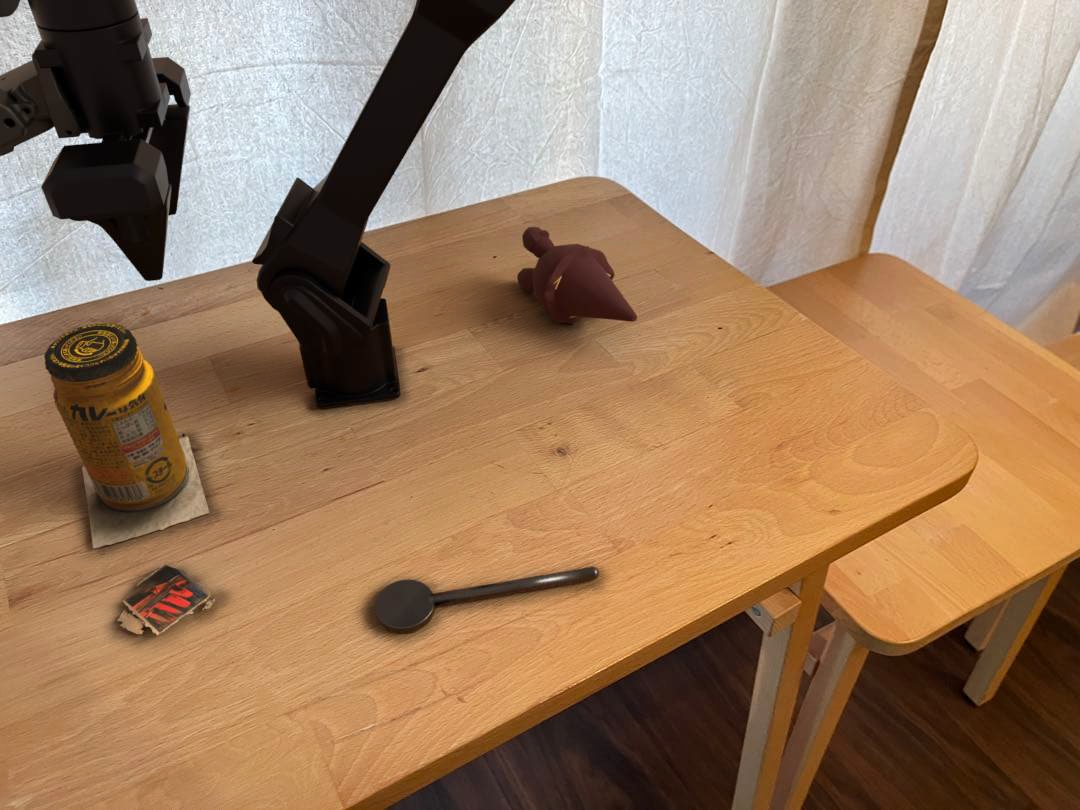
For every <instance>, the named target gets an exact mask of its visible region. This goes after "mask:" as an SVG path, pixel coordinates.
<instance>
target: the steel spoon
mask: <svg viewBox="0 0 1080 810" xmlns="http://www.w3.org/2000/svg"><path fill="white" fill-rule="evenodd" d="M599 576H600V571H599V569H598V568H597V567H595V566H589V567H588V566H587V567H582V568H576V569H571V570H565V571H560V572H558V571H557V572H553V573H552V572H551V573H547V574H541V575H535V576H529V577H522V578H517V579H510V580H505V581H499V582H494V583H493V582H492V583H486V584H482V585H481V584H480V585H476V586H475V585H474V586H469V587H463V588H457V589H452V590H446V591H439V592H434V593H433V591H432V589H431V587H429V586H428V585H427V584H425V583H423V582H422V581H419V580H415V579H400V580H397V581H394V582H392V583H390V584H388V585H387V586H385V587H384V588H383V589H382V590H381V591H380V592H379V593H378V595H377V597H376V599H375V602H374V612H375V617H376V620H377V622H378V624H379V625H380V626H381V627H382V628H383V629H384V630H386V631H388V632H390V633H394V634H400V635H403V634H412V633H414V632H417V631H420V630H421V629H422V628H424V627H425V626H426V625H427V624H429V623H430V621H431V620H432V619H433V617H434V615H435V612H436V607H442V606H448V605H449V606H450V605H453V604H454V605H455V604H460V603H466V602H472V601H476V600H477V601H478V600H484V599H489V598H494V597H495V598H496V597H501V596H506V595H512V594H519V593H526V592H529V591H530V592H531V591H537V590H542V589H548V588H553V587H559V586H565V585H571V584H577V583H582V582H583V583H584V582H589V581H594V580H595V581H596V580H597V579H598V578H599Z"/></svg>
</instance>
